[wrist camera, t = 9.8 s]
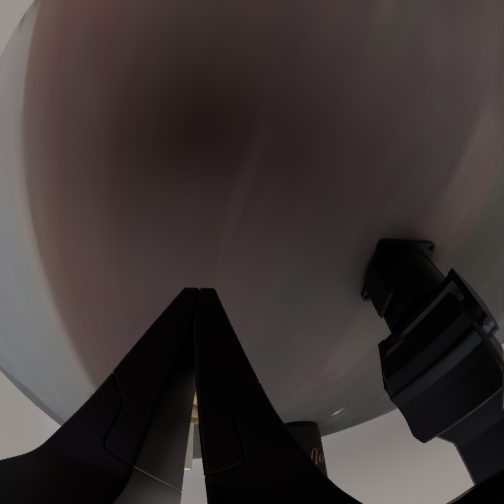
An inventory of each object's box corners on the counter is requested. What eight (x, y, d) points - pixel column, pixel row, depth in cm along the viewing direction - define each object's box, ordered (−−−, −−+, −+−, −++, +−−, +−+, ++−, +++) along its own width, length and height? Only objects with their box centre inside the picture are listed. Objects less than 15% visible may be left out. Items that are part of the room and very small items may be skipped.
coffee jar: (328, 424, 45) (343, 501, 30) (288, 439, 49) (297, 510, 34) (295, 417, 40) (308, 508, 25) (253, 433, 44) (258, 514, 29)
